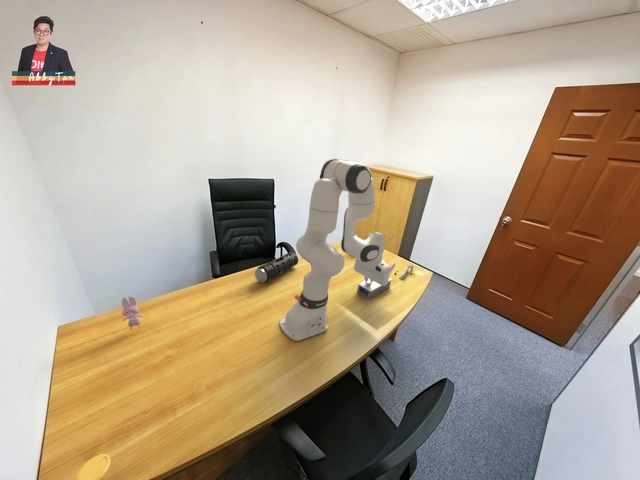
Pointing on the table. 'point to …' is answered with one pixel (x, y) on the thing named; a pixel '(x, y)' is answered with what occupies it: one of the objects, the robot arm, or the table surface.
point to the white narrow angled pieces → (403, 272)
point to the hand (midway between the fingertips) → (368, 284)
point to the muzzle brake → (275, 267)
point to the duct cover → (373, 285)
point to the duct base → (373, 293)
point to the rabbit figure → (131, 311)
